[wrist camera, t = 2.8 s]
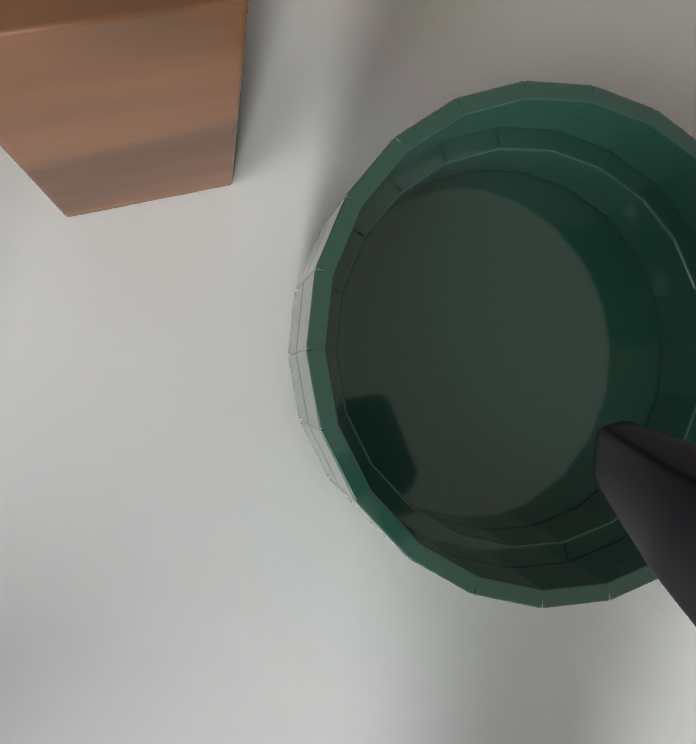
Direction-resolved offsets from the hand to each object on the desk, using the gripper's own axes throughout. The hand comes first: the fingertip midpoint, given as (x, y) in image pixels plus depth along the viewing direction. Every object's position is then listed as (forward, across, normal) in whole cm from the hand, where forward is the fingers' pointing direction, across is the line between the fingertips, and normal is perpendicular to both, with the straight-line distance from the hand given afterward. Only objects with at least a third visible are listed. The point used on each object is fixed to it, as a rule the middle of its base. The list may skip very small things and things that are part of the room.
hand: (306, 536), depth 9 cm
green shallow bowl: (+11, -8, +5) cm, 14 cm away
